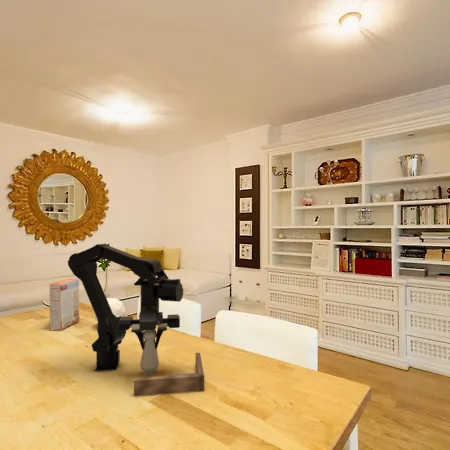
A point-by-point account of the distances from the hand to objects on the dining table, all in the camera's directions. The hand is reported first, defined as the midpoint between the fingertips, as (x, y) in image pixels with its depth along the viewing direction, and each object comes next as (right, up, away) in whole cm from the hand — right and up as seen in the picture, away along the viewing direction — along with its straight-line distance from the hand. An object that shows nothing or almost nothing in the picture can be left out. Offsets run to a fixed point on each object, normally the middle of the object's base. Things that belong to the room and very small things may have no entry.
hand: (149, 349), depth 100 cm
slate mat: (+11, -7, -7) cm, 15 cm away
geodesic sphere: (-29, -8, +46) cm, 55 cm away
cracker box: (-50, -8, +47) cm, 69 cm away
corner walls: (+7, -7, -5) cm, 11 cm away
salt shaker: (0, -7, 0) cm, 7 cm away
